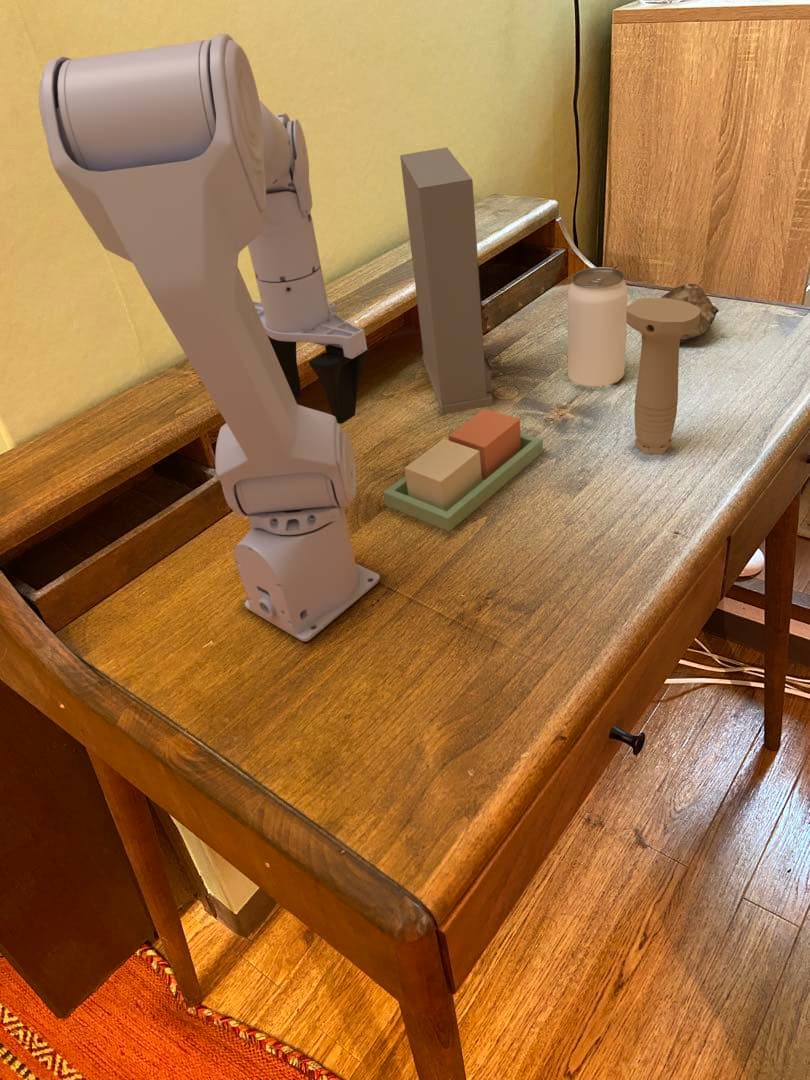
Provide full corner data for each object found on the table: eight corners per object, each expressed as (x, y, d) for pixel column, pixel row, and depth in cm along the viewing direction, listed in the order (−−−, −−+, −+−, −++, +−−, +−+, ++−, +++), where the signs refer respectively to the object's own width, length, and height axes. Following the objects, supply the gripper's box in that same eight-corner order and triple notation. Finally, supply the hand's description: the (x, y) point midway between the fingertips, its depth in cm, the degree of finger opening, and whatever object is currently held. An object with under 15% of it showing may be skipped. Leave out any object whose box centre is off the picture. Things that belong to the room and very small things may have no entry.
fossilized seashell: (734, 324, 97) (706, 305, 106) (707, 279, 95) (680, 263, 103) (678, 363, 99) (655, 341, 108) (650, 320, 97) (629, 301, 106)
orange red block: (487, 481, 82) (484, 447, 79) (451, 468, 84) (448, 435, 82) (521, 452, 85) (520, 419, 82) (486, 441, 87) (483, 408, 85)
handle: (671, 470, 80) (685, 326, 71) (612, 453, 84) (617, 314, 74) (693, 447, 83) (709, 305, 73) (634, 431, 86) (642, 294, 77)
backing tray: (449, 535, 76) (447, 518, 75) (385, 508, 81) (382, 491, 80) (543, 455, 85) (542, 439, 84) (480, 435, 89) (479, 419, 88)
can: (632, 368, 97) (637, 268, 90) (611, 393, 93) (615, 291, 86) (580, 360, 100) (581, 263, 93) (558, 384, 96) (557, 285, 89)
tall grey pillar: (495, 408, 94) (481, 178, 78) (442, 417, 93) (418, 188, 78) (470, 356, 104) (454, 145, 89) (423, 365, 104) (398, 154, 89)
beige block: (444, 516, 78) (440, 481, 75) (409, 501, 80) (404, 467, 78) (482, 484, 81) (479, 450, 79) (447, 471, 84) (443, 438, 81)
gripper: (380, 265, 69) (401, 408, 77) (267, 243, 77) (296, 374, 85) (321, 297, 65) (349, 443, 73) (208, 270, 73) (245, 404, 81)
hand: (317, 408), depth 79 cm, fingers open, 7 cm apart
